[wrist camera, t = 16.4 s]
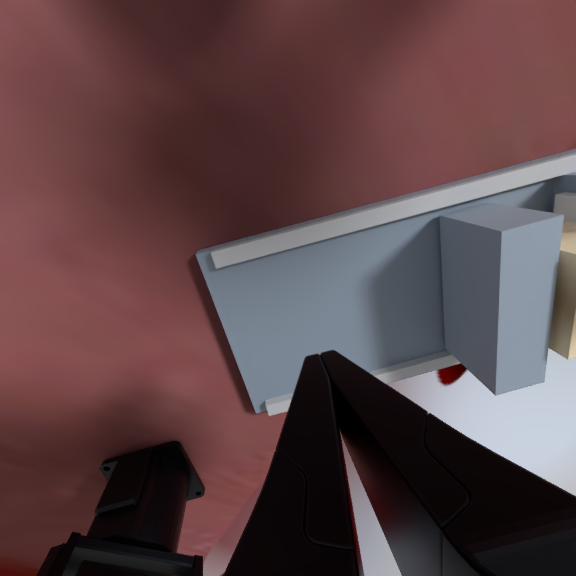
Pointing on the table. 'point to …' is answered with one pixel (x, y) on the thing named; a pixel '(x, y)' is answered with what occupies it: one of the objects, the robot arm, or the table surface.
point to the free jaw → (500, 291)
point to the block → (565, 296)
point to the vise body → (359, 280)
